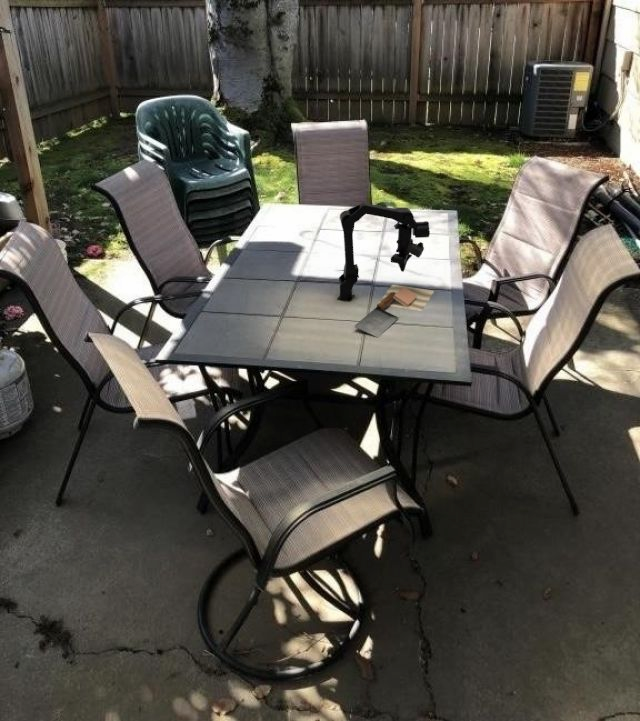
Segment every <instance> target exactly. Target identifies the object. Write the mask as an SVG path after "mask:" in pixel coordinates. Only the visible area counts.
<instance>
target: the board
mask: <svg viewBox="0 0 640 721" xmlns="http://www.w3.org/2000/svg"><path fill="white" fill-rule="evenodd" d="M403 287H405V288H407V289H408V290H410V291H411V292H413V293H414V294H416V295H417V297H416V299H415V300H414V301H413V302H412V303H411V304H410V305H409V306H408V307H406V306H404V305H403V304H401V303H400V302H398V301H397V300H396V299H395V300H393V302H392V303H391V304H389V305H388V306H387V307H392V308H393V307H394V308H399V309H406V310H411V311H412V310H413V311H418V312H422V311H423V310H424V309H425V307H426V305H427V304H428V302H429V300H430V299H431V297H432V296H433V295H434V292H435V290H431V289H425V288H419V287H411V286H405V285H398V284H392V285H391V286H390V287H389V288H388V290H387V291H386V293H385V294H384V295H383V296H382V298H381V299H380V300H379V302H378V303H380V302H381V301H382V300H383V299H384V298H385V297H387V296H388V295H389V294H390V293H391V292H395V293H397V292H398V291H399V290H400V289H401V288H403Z"/></svg>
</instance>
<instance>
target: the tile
mask: <svg viewBox="0 0 640 721" xmlns="http://www.w3.org/2000/svg"><path fill="white" fill-rule="evenodd" d="M405 287H406V286H405ZM405 287H403V288H401V289H400V290H399V291H398V292H397V293H396V294H395V295H394V297H393V298H394V299H396V300H397V301H398V302H400V303H401V304H403V305H404V306H406V307H408V306H409V305H410V304H411V303H412V302H413V301H414V300H415V299H416V297H417V295H416V294H414V293H413V292H411V291H410V290H408V289H407V288H405Z"/></svg>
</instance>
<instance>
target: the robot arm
mask: <svg viewBox="0 0 640 721" xmlns="http://www.w3.org/2000/svg"><path fill="white" fill-rule="evenodd" d="M365 215H371V216H375V217H381V218H386V219H390V220H394V222H395V221H396V222H397V223H395V224H394V226H393V227H394V229H395V230H398V232H397V235H398V236H397V240H396V244H397V247H396V249H395V253H394V254H393V255H392V256H391V257H390V263H394V264H397V265H398V266H399V269H400V271H401V272H402V273H403V272H404V271H405V269H406V266H407V263H408V261H409V260H410V259H411V257H412V256H414V257H416V258H420V257H421V256H422V254H423V252H424V251H425V247H424V243H423V242H422V241H420V242H419V243H414V239H413V238H412V236H414V237H415V238H416V239H417V238H418V239H419V238H429V237H430V234H431V231H430V223H429V221H427V220H426V221H416V219H415V217H414V214H413V212H412V211H411V209H410V208H409V207H386V206H382V205H377V204H373V203H368V202H366V201H364V202H363V201H362V202H361V203H358V205H355V206H353V207H351V208H349V209H348V210H343V211H341V213H340V215H339V220H340V224H341V227H342V232H343V245H344V259H345V260H344V266H343V273H342V274H341V275H340V276H339V277H338V281H339V295H338V297H337V298H336V300H337V301H345V302H351V301H352V300H353V299H354V298H355V297H356V295H355V294H353V288H354V285H355V284H356V283H357V282H358V278H359V279H360V276H359V270H360V269H359V266H358V264H357V263H356V264H355V256H354V238H353V235H354V230H355V223H357V222H358V221H360V220H361V219H362V217H364V216H365Z"/></svg>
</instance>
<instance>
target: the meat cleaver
mask: <svg viewBox="0 0 640 721" xmlns="http://www.w3.org/2000/svg"><path fill="white" fill-rule="evenodd" d="M395 294H396V293H395V292H391V293H390V294H389V295H388V296H387V297H385V298H384V299H383V300H382V301H381V302H380V303H379V302H378V303H377V304H376V306H375V308H373V309H372V311H370V312H369V313H368V314H366V316H364V317H363V318H361V320H359V321H358V322H357V323H356V324H355V325H354V329H357V330H360V331H362V332H364V333H367V334H368V335H372V336H373V337H374V338H375V337H376V338H379V337H380V336H381V335H382V334H384V333H385V332H386V330H387V329H388V328H389V327H391V325H393V324H394V323H395V322H396V321H397V320H398V319H399V317H398V316H396V315H395V314H392V313H390V312H388V311H386V310H385V309H386V308H388V307H389V306H388V305H389V304H391V303H392V302H393V300H395V299H394V298H393V297H394V295H395Z"/></svg>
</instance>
